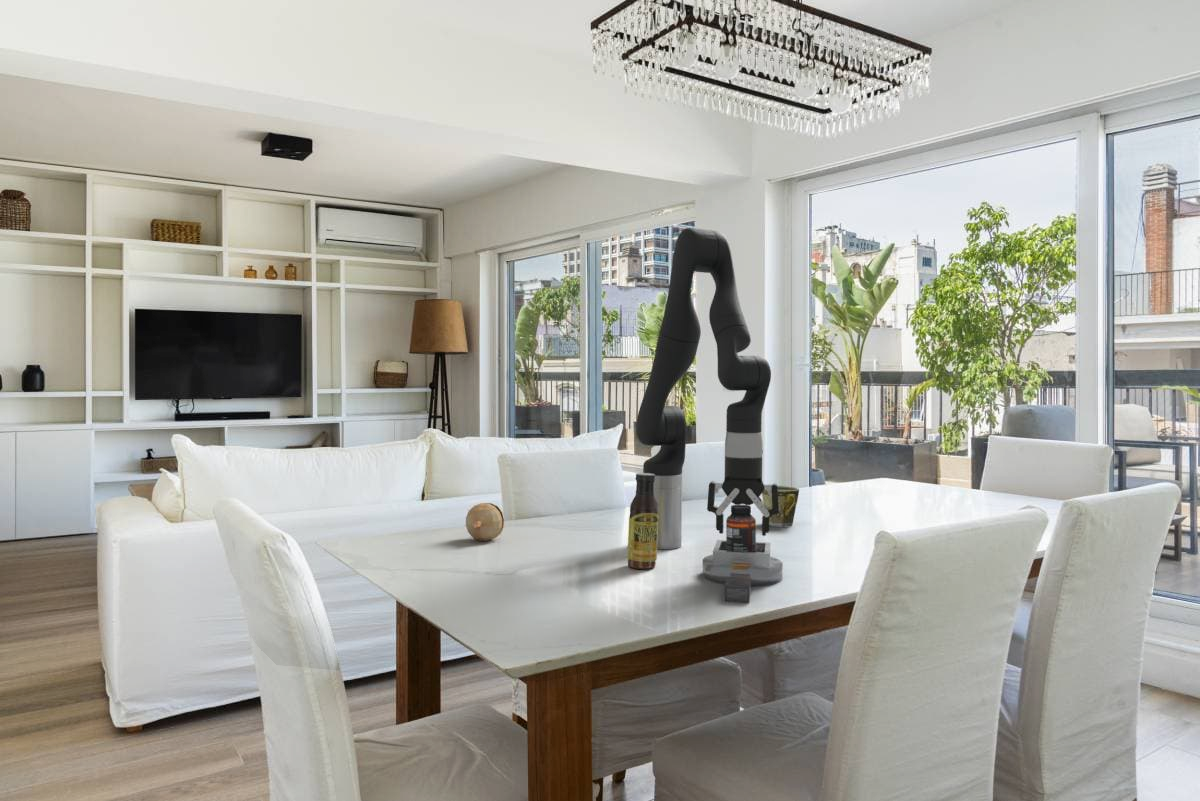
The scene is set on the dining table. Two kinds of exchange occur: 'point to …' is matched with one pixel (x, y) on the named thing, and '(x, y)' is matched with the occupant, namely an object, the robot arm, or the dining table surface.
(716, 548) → the grey platform stand
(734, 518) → the supplement bottle
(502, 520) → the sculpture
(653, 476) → the sauce bottle
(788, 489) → the ceramic cup
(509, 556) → the dining table surface
